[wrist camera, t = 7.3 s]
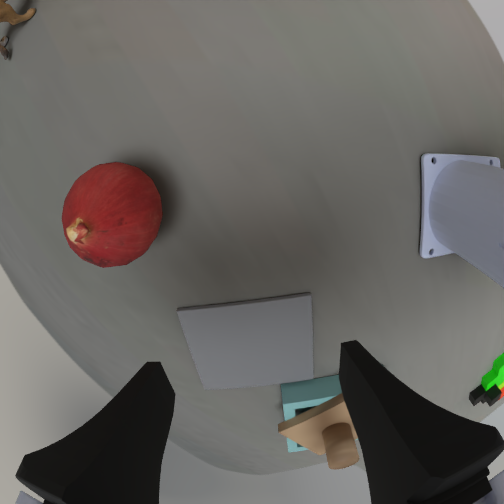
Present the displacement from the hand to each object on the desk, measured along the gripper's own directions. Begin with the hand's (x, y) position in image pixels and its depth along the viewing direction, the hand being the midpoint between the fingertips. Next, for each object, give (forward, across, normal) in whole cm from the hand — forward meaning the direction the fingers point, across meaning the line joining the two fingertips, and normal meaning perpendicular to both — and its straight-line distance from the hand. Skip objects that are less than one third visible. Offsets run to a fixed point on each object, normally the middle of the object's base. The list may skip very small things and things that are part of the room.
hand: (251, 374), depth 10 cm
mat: (+10, +1, +7) cm, 12 cm away
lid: (+7, -6, +17) cm, 19 cm away
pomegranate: (+10, +7, -6) cm, 14 cm away
